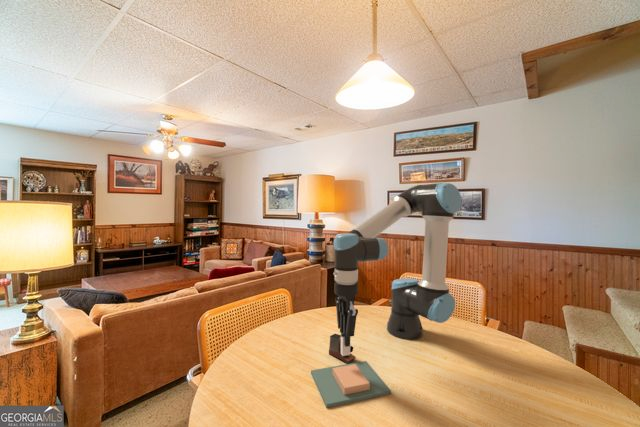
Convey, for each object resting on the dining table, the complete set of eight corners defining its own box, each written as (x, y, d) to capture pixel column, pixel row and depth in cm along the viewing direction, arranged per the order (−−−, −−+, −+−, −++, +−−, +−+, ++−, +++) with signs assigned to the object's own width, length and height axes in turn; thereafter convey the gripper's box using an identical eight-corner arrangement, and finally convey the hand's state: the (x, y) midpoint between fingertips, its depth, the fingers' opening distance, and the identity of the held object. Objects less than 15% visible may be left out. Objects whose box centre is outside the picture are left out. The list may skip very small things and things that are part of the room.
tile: (355, 364, 89) (369, 383, 80) (355, 370, 89) (369, 390, 80) (332, 368, 87) (344, 388, 77) (332, 374, 87) (344, 395, 77)
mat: (366, 363, 95) (366, 360, 95) (390, 393, 80) (391, 390, 80) (310, 373, 89) (310, 370, 89) (326, 407, 74) (326, 404, 74)
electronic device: (348, 365, 94) (348, 343, 94) (327, 354, 101) (328, 334, 101) (356, 360, 97) (356, 339, 97) (335, 350, 104) (336, 330, 104)
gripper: (328, 277, 92) (327, 346, 93) (343, 288, 80) (342, 367, 80) (348, 275, 95) (347, 342, 95) (366, 286, 82) (365, 363, 83)
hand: (345, 354), depth 88 cm, fingers closed
